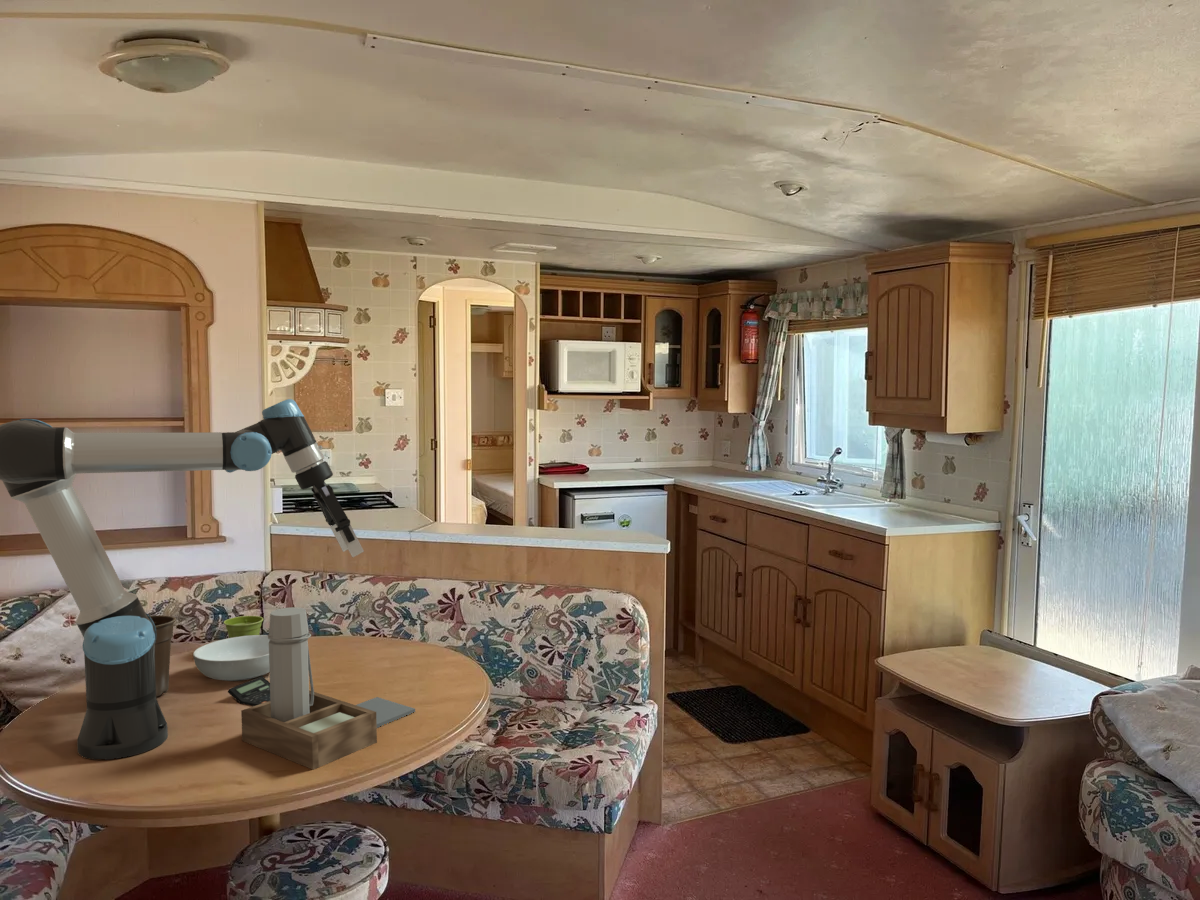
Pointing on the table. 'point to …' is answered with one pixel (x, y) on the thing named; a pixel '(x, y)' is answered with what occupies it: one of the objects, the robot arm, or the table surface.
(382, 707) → the slate mat
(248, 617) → the plant pot
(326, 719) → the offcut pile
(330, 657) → the table surface
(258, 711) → the walnut divided tray
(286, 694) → the water bottle
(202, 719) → the table surface
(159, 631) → the plant pot
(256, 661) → the serving bowl
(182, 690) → the table surface
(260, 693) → the calculator
